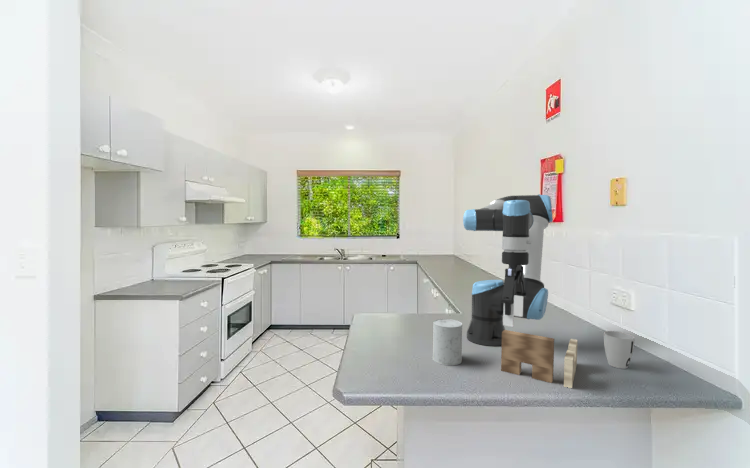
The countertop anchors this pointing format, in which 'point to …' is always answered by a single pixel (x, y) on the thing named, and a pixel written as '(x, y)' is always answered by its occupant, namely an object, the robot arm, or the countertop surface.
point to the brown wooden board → (528, 354)
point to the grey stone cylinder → (447, 341)
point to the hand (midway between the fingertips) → (513, 320)
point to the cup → (618, 348)
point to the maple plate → (570, 363)
